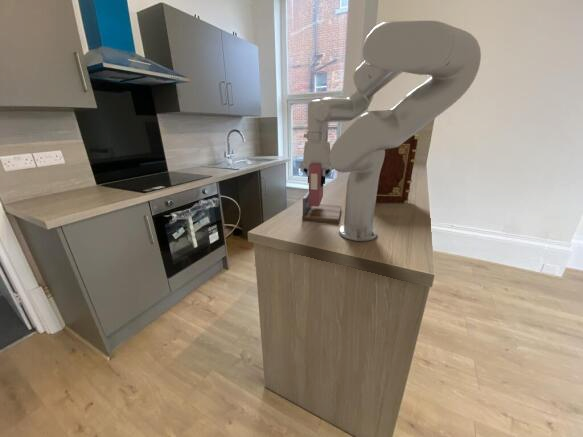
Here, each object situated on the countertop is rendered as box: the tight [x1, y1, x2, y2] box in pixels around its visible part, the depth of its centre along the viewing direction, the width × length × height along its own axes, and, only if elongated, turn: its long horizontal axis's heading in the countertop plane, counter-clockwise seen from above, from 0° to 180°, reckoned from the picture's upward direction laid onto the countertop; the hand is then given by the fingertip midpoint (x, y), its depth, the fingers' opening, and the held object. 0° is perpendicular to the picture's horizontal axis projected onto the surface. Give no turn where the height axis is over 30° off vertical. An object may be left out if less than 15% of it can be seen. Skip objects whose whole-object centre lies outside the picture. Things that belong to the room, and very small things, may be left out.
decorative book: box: [376, 134, 420, 205], centre depth 111 cm, size 22×8×30 cm, turn 84°
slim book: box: [308, 163, 324, 207], centre depth 96 cm, size 12×4×16 cm, turn 166°
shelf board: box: [301, 203, 342, 225], centre depth 100 cm, size 16×14×2 cm
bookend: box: [302, 189, 311, 216], centre depth 100 cm, size 14×1×7 cm, turn 166°
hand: (316, 184), depth 96 cm, fingers closed on slim book, 4 cm apart
